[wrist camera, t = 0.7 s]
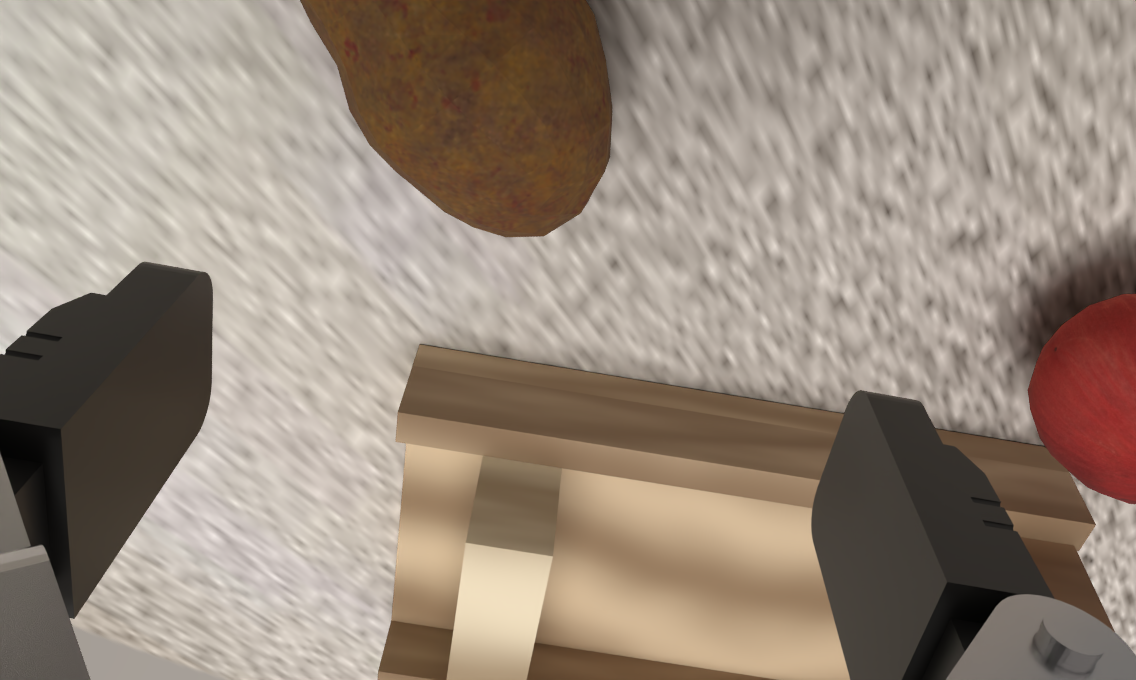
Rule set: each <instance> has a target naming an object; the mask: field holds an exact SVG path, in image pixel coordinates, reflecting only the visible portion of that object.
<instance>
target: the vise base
mask: <svg viewBox="0 0 1136 680" xmlns="http://www.w3.org/2000/svg"><path fill="white" fill-rule="evenodd" d="M843 416H844V414H841V413H835V412H829V411H823V410H817V409H811V408H805V407H799V406H792V405H786V404H780V403H774V402H768V401H762V400H756V399H750V398H744V397H738V396H731V395H725V394H719V393H713V392H707V391H701V390H695V389H689V388H683V387H676V386H670V385H664V384H658V383H652V382H646V381H640V380H634V379H628V378H622V377H615V376H609V375H603V374H597V373H591V372H585V371H579V370H573V369H567V368H560V367H554V366H548V365H542V364H536V363H530V362H524V361H518V360H512V359H506V358H499V357H493V356H487V355H481V354H475V353H469V352H463V351H457V350H451V349H444V348H438V347H432V346H426V345H419V348H418V351H417V354H416V357H415V360H414V363H413V366H412V370H411V373H410V376H409V379H408V382H407V385H406V388H405V391H404V395H403V398H402V401H401V404H400V407H399V410H398V416H397V430H396V442H400V443H406V452H405V464H404V476H403V488H402V500H401V512H400V524H399V536H398V548H397V560H396V572H395V584H394V596H393V608H392V620H391V624H390V628H389V632H388V636H387V640H386V644H385V647H384V651H383V655H382V659H381V663H380V667H379V671H378V680H447V673H448V666H449V658H450V651H451V644H452V637H453V630H454V623H455V615H456V608H457V601H458V594H459V587H460V580H461V572H462V565H463V558H464V551H465V544H466V538H467V533H468V528H469V523H470V518H471V513H472V508H473V503H474V498H475V493H476V488H477V483H478V478H479V473H480V468H481V463H482V458H483V456H488V457H494V458H500V459H507V460H513V461H519V462H525V463H532V464H538V465H544V466H550V467H557V468H562V472H561V482H560V492H559V502H558V512H557V522H556V532H555V541H554V551H553V559H552V563H551V568H550V573H549V577H548V582H547V587H546V591H545V596H544V601H543V605H542V610H541V615H540V619H539V624H538V629H537V634H536V638H535V643H534V648H533V652H532V657H531V662H530V666H529V671H528V676H527V680H850V677H849V673H848V669H847V665H846V662H845V658H844V654H843V651H842V647H841V643H840V640H839V636H838V632H837V629H836V625H835V621H834V617H833V614H832V610H831V606H830V603H829V599H828V595H827V592H826V588H825V584H824V580H823V577H822V573H821V569H820V566H819V562H818V558H817V555H816V551H815V547H814V544H813V539H812V532H811V517H812V508H813V502H814V497H815V494H816V490H817V487H818V484H819V482H820V479H821V476H822V473H823V471H824V468H825V465H826V462H827V460H828V457H829V454H830V452H831V449H832V446H833V443H834V441H835V438H836V435H837V432H838V430H839V427H840V424H841V421H842V419H843ZM936 431H937V433H938V435H939V437H940V439H941V441H942V443H943V444H945V445H951V446H955V447H956V448H958V449H959V450H960V451H961V452H962V453H963V454H964V455H965V456H966V457H967V458H969V459H970V460H971V461H972V462H973V463H974V464H975V465H976V466H977V467H978V468H979V469H981V470H982V471H983V472H984V473H985V474H986V476H987V478H988V480H989V482H990V483H991V485H992V487H993V489H994V490H995V492H996V494H997V496H998V498H999V499H1000V501H1001V503H1000V507H1003V508H1005V510H1006V512H1007V514H1008V516H1009V517H1010V519H1011V521H1012V523H1013V525H1014V527H1013V531H1017V532H1018V534H1019V535H1020V537H1021V539H1022V541H1023V542H1024V544H1025V546H1026V548H1027V550H1028V551H1029V553H1030V555H1031V557H1032V559H1033V560H1034V562H1035V564H1036V566H1037V568H1038V569H1039V571H1040V573H1041V575H1042V577H1043V578H1044V580H1045V582H1046V584H1047V586H1048V587H1049V589H1050V591H1051V593H1052V595H1053V596H1054V598H1055V599H1056V600H1059V601H1062V602H1065V603H1067V604H1070V605H1072V606H1074V607H1076V608H1079V609H1081V610H1083V611H1085V612H1086V613H1088V614H1090V615H1091V616H1093V617H1095V618H1096V619H1098V620H1099V621H1101V622H1102V623H1104V624H1105V625H1106V626H1108V627H1109V628H1110V629H1111V630H1113V631H1114V629H1113V627H1112V625H1111V623H1110V621H1109V619H1108V616H1107V614H1106V612H1105V610H1104V608H1103V606H1102V604H1101V602H1100V599H1099V597H1098V595H1097V593H1096V591H1095V589H1094V587H1093V585H1092V583H1091V580H1090V578H1089V576H1088V574H1087V572H1086V570H1085V568H1084V566H1083V564H1082V561H1081V559H1080V557H1079V555H1078V553H1077V551H1079V550H1080V548H1081V547H1082V545H1083V544H1084V542H1085V541H1086V539H1087V538H1088V536H1089V535H1090V533H1091V531H1092V530H1093V528H1094V527H1095V525H1096V524H1095V522H1094V520H1093V518H1092V516H1091V514H1090V512H1089V510H1088V508H1087V506H1086V504H1085V502H1084V500H1083V498H1082V496H1081V495H1080V493H1079V491H1078V489H1077V487H1076V485H1075V483H1074V481H1073V479H1072V477H1071V475H1070V473H1069V471H1068V470H1067V469H1066V468H1065V467H1064V466H1063V465H1062V464H1060V463H1059V462H1058V461H1057V460H1056V459H1055V458H1054V457H1053V456H1052V455H1051V454H1050V453H1049V451H1048V450H1047V448H1046V447H1043V446H1037V445H1031V444H1024V443H1018V442H1012V441H1006V440H1000V439H994V438H988V437H982V436H976V435H970V434H963V433H957V432H951V431H945V430H939V429H936ZM1114 632H1115V631H1114Z"/></svg>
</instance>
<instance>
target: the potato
mask: <svg viewBox="0 0 1136 680" xmlns="http://www.w3.org/2000/svg"><path fill="white" fill-rule="evenodd" d="M300 1H301V3H302V5H303V7H304V9H305V11H306V13H307V15H308V17H309V19H310V22H311V23H312V25H313V27H314V28H315V30H316V32H317V33H318V35H319V37H320V38H321V40H322V41H323V43H324V45H325V46H326V48H327V50H328V51H329V53H330V55H331V56H332V58H333V60H334V61H335V63H336V64H337V66H338V70H339V74H340V77H341V81H342V85H343V88H344V92H345V95H346V99H347V103H348V106H349V110H350V112H351V113H352V115H353V117H354V119H355V120H356V122H357V124H358V126H359V127H360V129H361V131H362V132H363V134H364V136H365V138H366V139H367V141H368V143H369V145H370V146H371V147H372V148H373V149H374V150H375V151H376V152H377V153H378V154H379V155H380V156H381V157H382V158H383V159H384V160H385V161H386V162H387V163H388V164H389V165H390V166H391V167H392V168H393V169H394V170H395V171H396V172H397V173H398V174H399V175H401V176H402V177H403V178H404V179H406V180H407V181H408V182H409V183H410V184H412V185H413V186H414V187H415V188H416V189H418V190H419V191H420V192H421V193H423V194H424V195H425V196H426V197H427V198H429V199H430V200H431V201H432V202H433V203H435V204H436V205H437V206H438V207H439V208H441V209H442V210H443V211H444V212H446V213H448V214H450V215H452V216H453V217H455V218H457V219H459V220H461V221H463V222H465V223H466V224H468V225H470V226H472V227H474V228H478V229H481V230H484V231H488V232H491V233H494V234H497V235H501V236H504V237H532V236H545V235H546V234H548V233H550V232H551V231H553V230H555V229H556V228H558V227H559V226H561V225H563V224H564V223H566V222H567V221H569V220H571V219H572V218H574V217H575V216H577V215H579V214H580V213H581V212H582V210H583V209H584V207H585V206H586V204H587V202H588V201H589V199H590V197H591V195H592V193H593V191H594V189H595V187H596V186H597V184H598V182H599V181H600V179H601V177H602V175H603V174H604V172H605V169H606V166H607V164H608V161H609V158H610V145H611V125H612V101H611V94H610V87H609V80H608V73H607V66H606V59H605V55H604V51H603V47H602V43H601V39H600V35H599V31H598V27H597V23H596V20H595V16H594V14H593V12H592V10H591V8H590V7H589V5H588V3H587V1H586V0H300Z"/></svg>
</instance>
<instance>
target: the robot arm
mask: <svg viewBox="0 0 1136 680" xmlns="http://www.w3.org/2000/svg"><path fill="white" fill-rule="evenodd" d="M212 318H213V289H212V282H211V279H210V276H209V275H208V274H207V273H206V272H200V271H195V270H189V269H184V268H178V267H172V266H167V265H161V264H155V263H150V262H142V263H140V264H139V265H138V266H137V267H136V268H135V269H134V270H133V271H131V272H130V273H129V274H128V275H127V276H126V277H125V278H124V279H123V280H122V281H121V282H120V283H119V284H118V285H117V286H116V287H115V288H114V289H113V290H112V291H111V292H109V293H108V294H107V295H101V294H95V293H89V294H87V295H84V296H82V297H79V298H77V299H74V300H72V301H70V302H67V303H65V304H62V305H60V306H57V307H55V308H53V309H51V310H50V311H49V312H48V313H46V314H45V315H44V316H43V317H42V318H41V319H40V320H39V321H37V322H36V323H35V324H34V325H33V326H32V327H31V328H30V329H28V330H27V334H26V336H21V337H19V338H18V339H17V340H16V341H15V342H14V343H13V344H11V345H10V346H9V347H8V348H7V349H6V353H5V355H3V354H0V680H90V677H89V674H88V671H87V668H86V665H85V662H84V660H83V656H82V654H81V651H80V648H79V645H78V642H77V639H76V636H75V633H74V630H73V627H72V624H71V621H70V618H73V619H75V617H76V616H77V614H78V613H79V611H80V610H81V608H82V607H83V605H84V604H85V602H86V601H87V599H88V598H89V596H90V595H91V593H92V592H93V590H94V589H95V587H96V586H97V584H98V583H99V581H100V580H101V578H102V577H103V575H104V574H105V572H106V571H107V569H108V568H109V566H110V565H111V563H112V562H113V560H114V559H115V557H116V556H117V554H118V553H119V551H120V550H121V548H122V547H123V545H124V544H125V542H126V541H127V539H128V538H129V536H130V535H131V533H132V532H133V530H134V529H135V527H136V526H137V524H138V523H139V521H140V520H141V518H142V517H143V515H144V514H145V512H146V511H147V509H148V508H149V506H150V505H151V503H152V502H153V500H154V499H155V497H156V496H157V494H158V493H159V491H160V490H161V488H162V487H163V485H164V484H165V482H166V481H167V479H168V478H169V476H170V475H171V473H172V472H173V470H174V469H175V467H176V466H177V464H178V463H179V461H180V460H181V458H182V457H183V455H184V454H185V452H186V451H187V449H188V448H189V446H190V445H191V443H192V442H193V440H194V439H195V437H196V436H197V434H198V433H199V431H200V429H201V427H202V424H203V422H204V419H205V416H206V413H207V409H208V405H209V401H210V395H211V384H212ZM1000 503H1001V501H1000V499H999V498H998V496H997V494H996V492H995V490H994V489H993V487H992V485H991V483H990V482H989V480H988V478H987V476H986V474H985V473H984V472H983V471H982V470H981V469H979V468H978V467H977V466H976V465H975V464H974V463H973V462H972V461H971V460H970V459H969V458H967V457H966V456H965V455H964V454H963V453H962V452H961V451H960V450H959V449H958V448H956V447H955V446H951V445H945V444H943V443H942V441H941V439H940V437H939V435H938V433H937V431H936V429H935V427H934V426H933V424H932V422H931V420H930V418H929V416H928V414H927V412H926V410H925V408H924V406H923V405H922V403H921V402H919V401H917V400H912V399H907V398H901V397H895V396H890V395H884V394H879V393H873V392H867V391H862V390H860V391H857V392H856V393H855V394H854V395H853V396H852V398H851V399H850V401H849V403H848V405H847V408H846V410H845V413H844V416H843V419H842V421H841V424H840V427H839V430H838V432H837V435H836V438H835V441H834V443H833V446H832V449H831V452H830V454H829V457H828V460H827V462H826V465H825V468H824V471H823V473H822V476H821V479H820V482H819V484H818V487H817V490H816V494H815V497H814V502H813V508H812V517H811V532H812V539H813V544H814V547H815V551H816V555H817V558H818V562H819V566H820V569H821V573H822V577H823V580H824V584H825V588H826V592H827V595H828V599H829V603H830V606H831V610H832V614H833V617H834V621H835V625H836V629H837V632H838V636H839V640H840V643H841V647H842V651H843V654H844V658H845V662H846V665H847V669H848V673H849V677H850V680H1136V655H1135V654H1134V653H1133V651H1132V650H1131V649H1130V647H1129V646H1128V645H1127V644H1126V643H1125V642H1124V641H1123V640H1122V639H1121V638H1120V637H1119V636H1118V635H1117V634H1116V633H1115V632H1114V631H1113V630H1111V629H1110V628H1109V627H1108V626H1106V625H1105V624H1104V623H1102V622H1101V621H1099V620H1098V619H1096V618H1095V617H1093V616H1091V615H1090V614H1088V613H1086V612H1085V611H1083V610H1081V609H1079V608H1076V607H1074V606H1072V605H1070V604H1067V603H1065V602H1062V601H1059V600H1056V599H1055V598H1054V596H1053V595H1052V593H1051V591H1050V589H1049V587H1048V586H1047V584H1046V582H1045V580H1044V578H1043V577H1042V575H1041V573H1040V571H1039V569H1038V568H1037V566H1036V564H1035V562H1034V560H1033V559H1032V557H1031V555H1030V553H1029V551H1028V550H1027V548H1026V546H1025V544H1024V542H1023V541H1022V539H1021V537H1020V535H1019V534H1018V532H1017V531H1013V527H1014V525H1013V523H1012V521H1011V519H1010V517H1009V516H1008V514H1007V512H1006V510H1005V508H1003V507H1000Z"/></svg>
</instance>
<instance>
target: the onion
mask: <svg viewBox="0 0 1136 680" xmlns="http://www.w3.org/2000/svg"><path fill="white" fill-rule="evenodd" d="M1028 395H1029V403H1030V410H1031V413H1032V416H1033V419H1034V422H1035V425H1036V428H1037V431H1038V434H1039V437H1040V439H1041V441H1042V442H1043V444H1044V445H1045V447H1046V448H1047V450H1048V451H1049V453H1050V454H1051V455H1052V456H1053V457H1054V458H1055V459H1056V460H1057V461H1058V462H1059V463H1060V464H1062V465H1063V466H1064V467H1065V468H1066V469H1067V470H1068V471H1069V472H1070V473H1071V474H1073V475H1074V476H1075V477H1076V478H1077V479H1078V480H1079V481H1081V482H1082V483H1083V484H1084V485H1085V486H1087V487H1088V488H1090V489H1092V490H1095V491H1097V492H1099V493H1101V494H1104V495H1107V496H1109V497H1112V498H1115V499H1118V500H1121V501H1123V502H1126V503H1129V504H1136V294H1122V295H1119V296H1116V297H1113V298H1110V299H1107V300H1104V301H1101V302H1098V303H1095V304H1092V305H1089V306H1088V307H1086V308H1085V309H1084V310H1082V311H1081V312H1079V313H1078V314H1077V315H1075V316H1074V317H1072V318H1071V319H1069V320H1068V321H1067V322H1065V323H1064V324H1062V325H1061V326H1060V328H1059V329H1058V330H1057V331H1056V332H1055V334H1054V335H1053V336H1052V337H1051V338H1050V340H1049V341H1048V342H1047V343H1046V344H1045V346H1044V347H1043V349H1042V351H1041V353H1040V355H1039V358H1038V360H1037V362H1036V365H1035V369H1034V372H1033V375H1032V378H1031V381H1030V385H1029V388H1028Z"/></svg>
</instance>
